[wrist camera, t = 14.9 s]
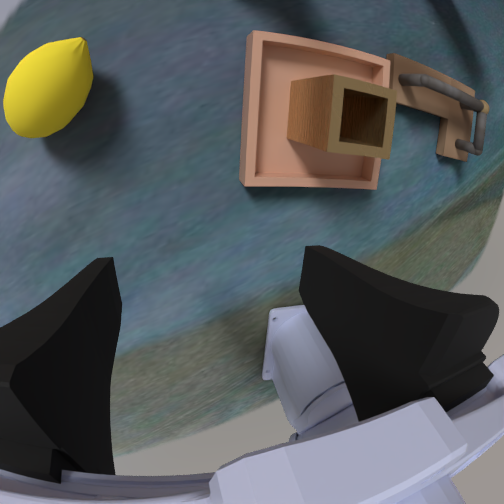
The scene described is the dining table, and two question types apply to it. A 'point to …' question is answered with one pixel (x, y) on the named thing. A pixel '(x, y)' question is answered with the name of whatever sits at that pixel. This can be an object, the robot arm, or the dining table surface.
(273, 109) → the dish
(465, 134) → the bent wire
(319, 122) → the hollow wooden box
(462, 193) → the dining table surface
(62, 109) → the lemon
